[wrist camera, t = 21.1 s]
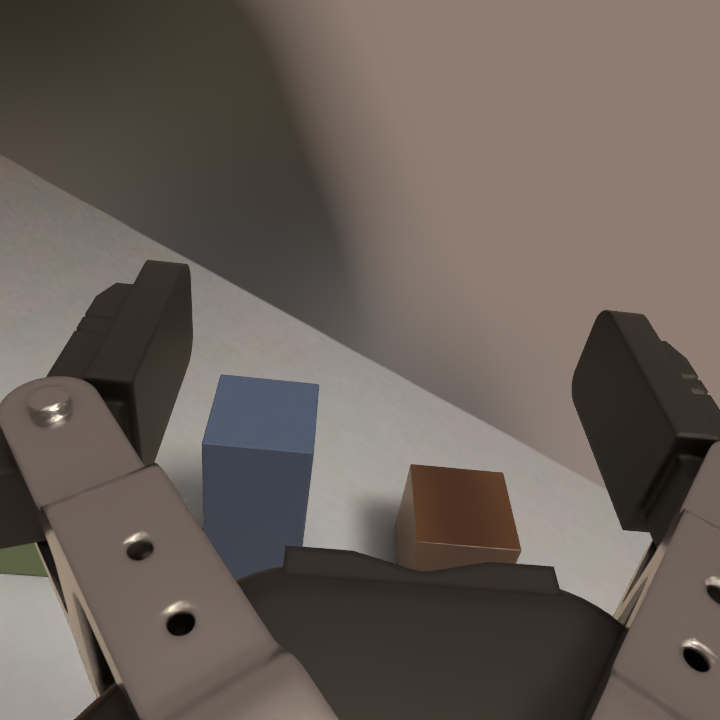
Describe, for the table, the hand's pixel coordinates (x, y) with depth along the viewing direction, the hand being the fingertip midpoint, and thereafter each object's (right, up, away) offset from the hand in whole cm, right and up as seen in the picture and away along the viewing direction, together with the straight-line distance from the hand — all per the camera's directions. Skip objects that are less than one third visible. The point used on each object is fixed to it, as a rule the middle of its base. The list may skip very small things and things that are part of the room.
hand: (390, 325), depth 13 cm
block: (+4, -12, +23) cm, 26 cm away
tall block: (-6, -11, +22) cm, 25 cm away
